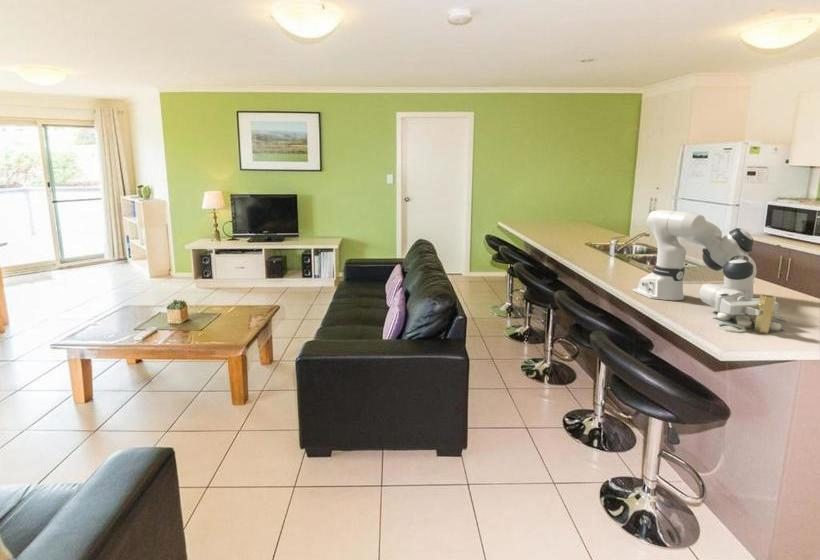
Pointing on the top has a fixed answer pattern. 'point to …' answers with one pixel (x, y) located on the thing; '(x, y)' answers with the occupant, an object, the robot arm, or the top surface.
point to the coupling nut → (765, 313)
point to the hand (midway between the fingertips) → (767, 312)
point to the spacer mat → (746, 322)
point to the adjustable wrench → (778, 319)
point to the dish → (730, 329)
